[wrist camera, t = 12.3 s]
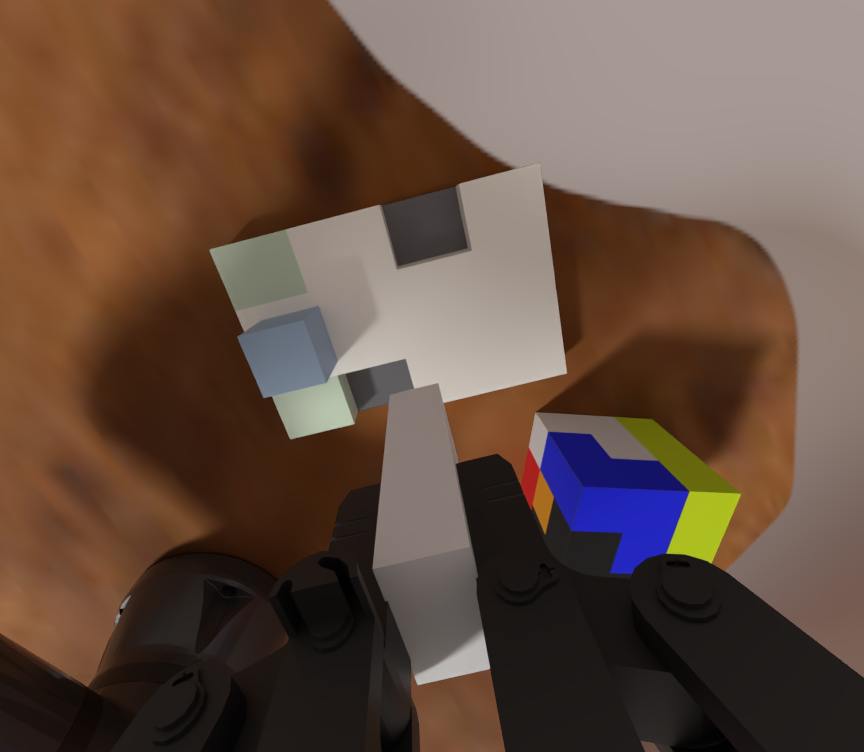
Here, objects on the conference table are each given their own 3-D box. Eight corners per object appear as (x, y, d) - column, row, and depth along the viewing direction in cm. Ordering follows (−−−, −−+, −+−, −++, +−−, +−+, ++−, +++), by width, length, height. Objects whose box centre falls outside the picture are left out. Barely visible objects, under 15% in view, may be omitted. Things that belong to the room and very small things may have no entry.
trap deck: (298, 423, 33) (290, 439, 30) (226, 247, 28) (209, 249, 25) (555, 362, 32) (566, 373, 30) (529, 167, 27) (539, 162, 24)
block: (283, 374, 29) (263, 398, 25) (261, 320, 27) (237, 336, 23) (337, 361, 28) (326, 382, 25) (318, 305, 27) (303, 320, 23)
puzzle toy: (535, 411, 33) (582, 486, 24) (651, 418, 34) (741, 493, 25) (516, 510, 37) (550, 608, 28) (621, 514, 38) (690, 612, 28)
